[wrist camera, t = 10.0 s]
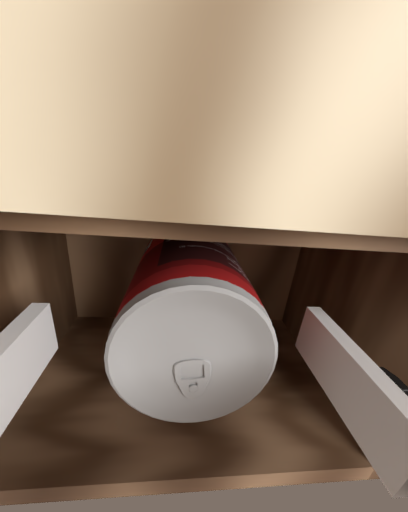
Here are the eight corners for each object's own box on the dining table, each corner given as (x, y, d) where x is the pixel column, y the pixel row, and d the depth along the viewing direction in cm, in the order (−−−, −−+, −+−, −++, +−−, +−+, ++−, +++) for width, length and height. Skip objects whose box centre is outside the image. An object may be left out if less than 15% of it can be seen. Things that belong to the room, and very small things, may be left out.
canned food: (163, 311, 21) (145, 441, 11) (128, 234, 18) (62, 319, 8) (239, 287, 21) (292, 399, 11) (217, 206, 18) (262, 258, 8)
